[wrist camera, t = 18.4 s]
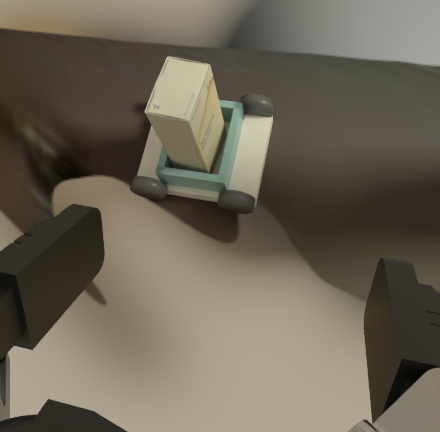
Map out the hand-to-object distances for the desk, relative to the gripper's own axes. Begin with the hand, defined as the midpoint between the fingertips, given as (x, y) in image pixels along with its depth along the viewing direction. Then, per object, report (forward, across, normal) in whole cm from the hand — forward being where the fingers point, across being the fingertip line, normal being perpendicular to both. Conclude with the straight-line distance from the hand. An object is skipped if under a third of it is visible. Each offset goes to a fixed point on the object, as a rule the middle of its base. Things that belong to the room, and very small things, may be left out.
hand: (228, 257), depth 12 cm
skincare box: (+34, +10, +10) cm, 37 cm away
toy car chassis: (+36, +10, +11) cm, 38 cm away
